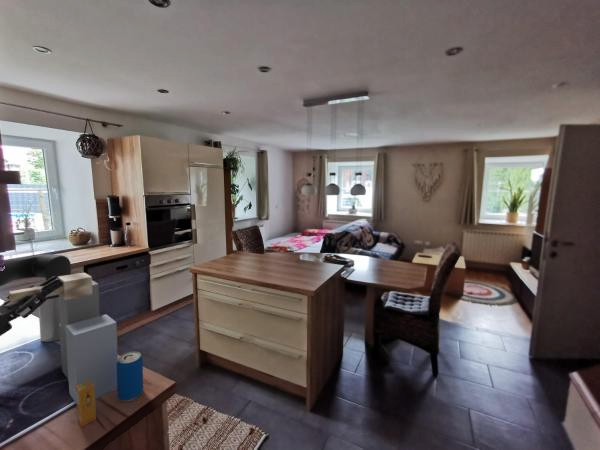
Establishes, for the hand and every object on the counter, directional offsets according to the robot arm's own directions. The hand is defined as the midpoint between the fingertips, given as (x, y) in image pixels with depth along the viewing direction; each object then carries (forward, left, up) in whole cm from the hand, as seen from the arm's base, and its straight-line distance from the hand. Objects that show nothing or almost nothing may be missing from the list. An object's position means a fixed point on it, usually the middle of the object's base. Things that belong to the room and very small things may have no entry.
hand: (58, 280), depth 73 cm
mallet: (0, -1, -5) cm, 5 cm away
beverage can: (+10, +13, -36) cm, 39 cm away
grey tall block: (0, +7, -36) cm, 36 cm away
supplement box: (+11, +2, -36) cm, 38 cm away
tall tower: (-12, +8, -36) cm, 39 cm away
